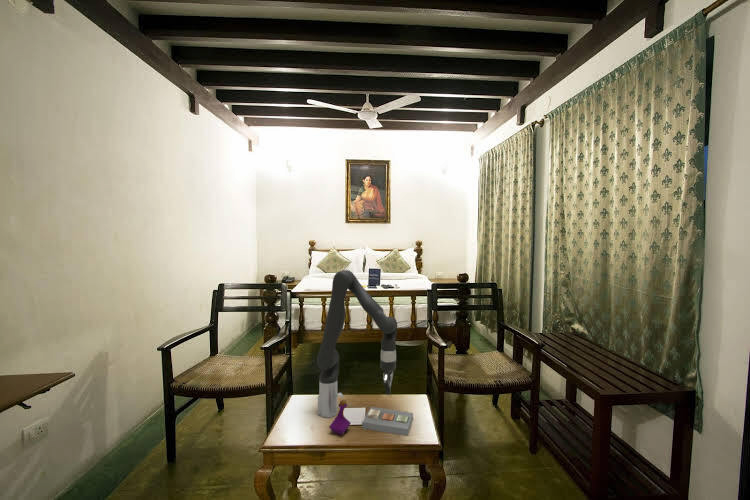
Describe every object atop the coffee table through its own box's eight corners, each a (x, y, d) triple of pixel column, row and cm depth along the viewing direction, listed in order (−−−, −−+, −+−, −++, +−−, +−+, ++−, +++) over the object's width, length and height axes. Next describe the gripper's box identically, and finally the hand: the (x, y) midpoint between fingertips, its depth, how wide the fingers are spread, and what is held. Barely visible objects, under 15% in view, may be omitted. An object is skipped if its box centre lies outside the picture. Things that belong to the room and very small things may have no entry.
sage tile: (396, 424, 158) (396, 420, 158) (398, 419, 163) (398, 415, 163) (406, 426, 156) (406, 421, 156) (408, 420, 161) (408, 416, 161)
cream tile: (368, 418, 162) (368, 414, 162) (370, 413, 166) (370, 409, 166) (377, 419, 160) (377, 415, 160) (380, 414, 165) (380, 410, 165)
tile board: (362, 428, 157) (362, 422, 157) (370, 412, 172) (370, 406, 172) (407, 435, 151) (407, 429, 151) (412, 418, 166) (412, 412, 166)
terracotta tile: (381, 422, 160) (381, 418, 160) (384, 417, 165) (384, 413, 164) (392, 423, 158) (392, 419, 158) (394, 418, 163) (394, 414, 163)
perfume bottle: (351, 429, 156) (350, 391, 156) (342, 438, 149) (342, 398, 149) (337, 425, 159) (337, 388, 159) (328, 434, 153) (328, 395, 152)
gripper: (384, 353, 168) (383, 387, 169) (377, 362, 155) (376, 398, 156) (398, 354, 166) (398, 388, 167) (392, 364, 153) (392, 401, 154)
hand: (387, 393), depth 161 cm, fingers closed
